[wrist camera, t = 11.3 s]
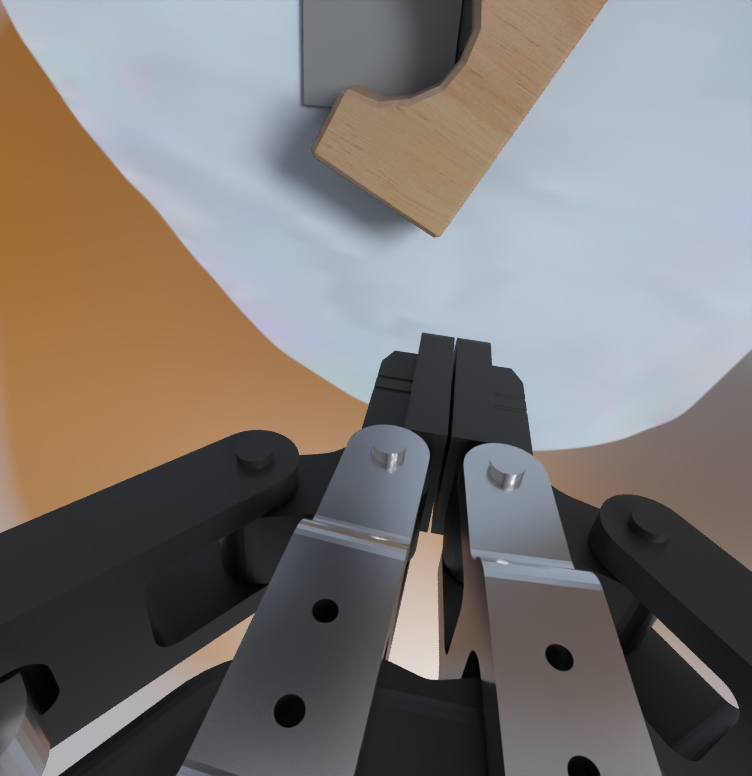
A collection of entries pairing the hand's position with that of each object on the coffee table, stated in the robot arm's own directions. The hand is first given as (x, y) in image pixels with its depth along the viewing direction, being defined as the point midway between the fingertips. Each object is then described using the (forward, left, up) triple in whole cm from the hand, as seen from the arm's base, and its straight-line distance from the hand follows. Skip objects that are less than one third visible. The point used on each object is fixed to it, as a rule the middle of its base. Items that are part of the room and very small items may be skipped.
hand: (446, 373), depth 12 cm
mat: (-8, -7, -34) cm, 36 cm away
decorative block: (+3, -6, -31) cm, 32 cm away
